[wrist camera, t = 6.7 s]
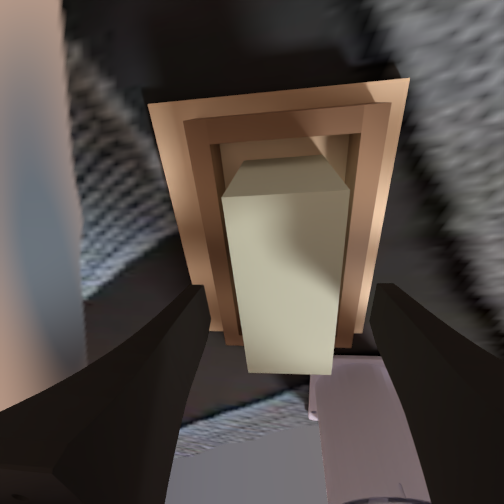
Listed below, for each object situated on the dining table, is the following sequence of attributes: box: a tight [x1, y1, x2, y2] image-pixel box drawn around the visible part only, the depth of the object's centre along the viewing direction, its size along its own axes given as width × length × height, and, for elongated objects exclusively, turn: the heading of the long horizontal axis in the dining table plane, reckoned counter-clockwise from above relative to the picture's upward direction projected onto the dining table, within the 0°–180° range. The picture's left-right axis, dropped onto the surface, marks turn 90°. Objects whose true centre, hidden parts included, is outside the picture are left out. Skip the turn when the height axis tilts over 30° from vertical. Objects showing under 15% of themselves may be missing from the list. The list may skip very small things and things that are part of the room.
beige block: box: [221, 155, 350, 375], centre depth 13 cm, size 4×9×6 cm, turn 5°
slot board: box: [148, 78, 410, 348], centre depth 15 cm, size 16×12×3 cm
